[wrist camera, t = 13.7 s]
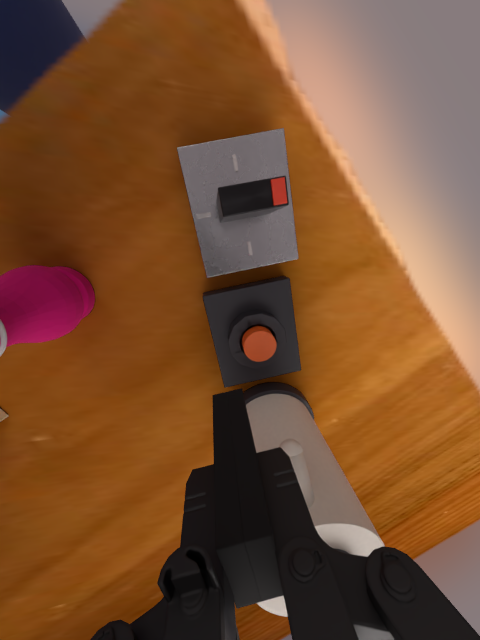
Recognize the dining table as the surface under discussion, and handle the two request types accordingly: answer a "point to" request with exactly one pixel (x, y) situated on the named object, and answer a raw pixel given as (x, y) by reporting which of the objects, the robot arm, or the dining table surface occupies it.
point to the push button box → (248, 311)
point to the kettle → (309, 471)
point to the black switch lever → (251, 199)
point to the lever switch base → (245, 234)
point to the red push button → (258, 343)
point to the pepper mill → (42, 303)
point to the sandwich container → (2, 415)
